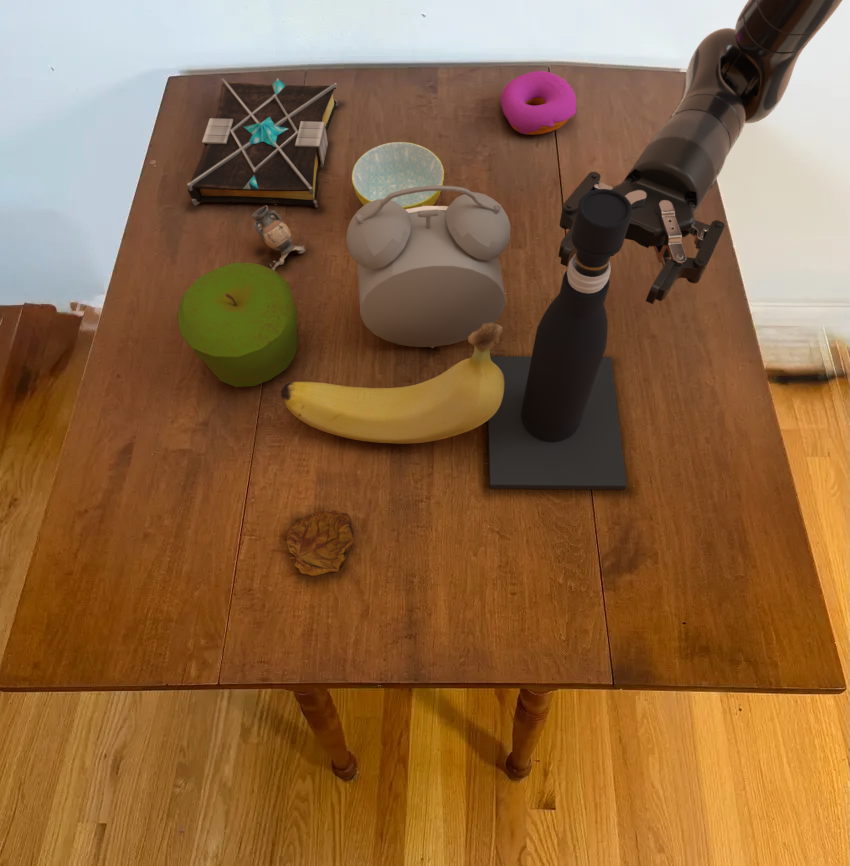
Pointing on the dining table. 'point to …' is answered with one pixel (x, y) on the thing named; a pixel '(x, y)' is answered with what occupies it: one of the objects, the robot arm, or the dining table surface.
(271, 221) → the vase
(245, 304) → the apple
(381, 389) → the banana
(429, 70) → the dining table surface
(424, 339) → the alarm clock
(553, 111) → the donut
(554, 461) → the mat
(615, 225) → the insulated water bottle
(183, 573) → the dining table surface
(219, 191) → the book
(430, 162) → the bowl
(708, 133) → the robot arm
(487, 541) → the dining table surface
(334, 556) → the leaf
